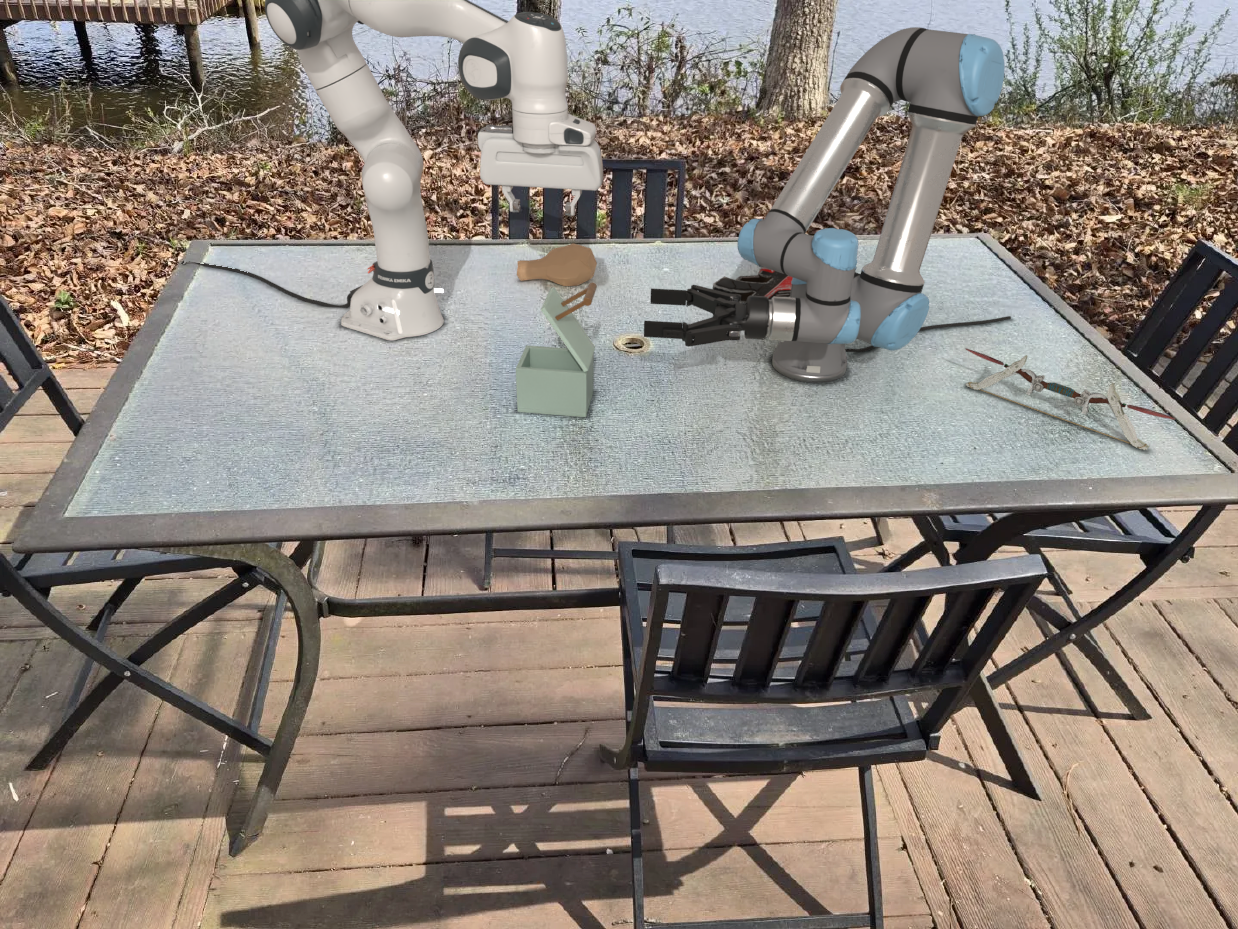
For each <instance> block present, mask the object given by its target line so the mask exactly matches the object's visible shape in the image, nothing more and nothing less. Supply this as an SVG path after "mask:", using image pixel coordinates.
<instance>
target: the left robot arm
mask: <svg viewBox="0 0 1238 929" xmlns="http://www.w3.org/2000/svg"><path fill="white" fill-rule="evenodd" d="M264 12H265V16H266V19H267V22H268V24H269V27H270V28H271V30H272V31H273V33H274V34H275V36H276V37H277V38H278V39H279V40H280V41H281V42H282V43H284V45H286V46H288V47H290V48H291V49H293V50H295V51H296V53H297V56H298V59H299V61H300V63H301V66H302V67H303V70H304V71H305V74H306V76H307V78H308V80H309V81H310V83H311V86H312V87H313V89H314V91H315V92H316V94H317V95H318V98H319V99H320V102H321V103H322V104H323V106H324V108H325V109H326V111H327V113H328V115H329V116H330V118H331V120H332V122H333V124H334V125H335V127H336V129H337V130H338V131H339V132H340V133H341V134H343V135H344V137H346V139H347V140H348V141H349V142H350V144H351V145H352V146H353V147H354V149H355V150H356V151H357V153H358V154H359V156H360V157H361V159H362V161H363V163H364V164H363V166H362V168H361V185H362V190H363V193H364V198H365V204H366V208H367V211H368V215H369V218H370V219H369V220H370V223H371V227H372V231H373V238H374V245H375V246H374V247H375V253H376V254H375V255H376V261H374V262H373V263H372V265H371V266H369V267H368V268H367V274H370V273H372V277H371V278H370V279H369V280H367V282H365V283H364V284H362V285H359V286H358V287H356V288H353V289H351V290H349V293H348V295H347V296H346V303H344V304H341V305H340V304H339V305H338V304H337V305H336V304H331V303H328V302H324V301H321V300H316V299H312V298H307V297H305V296H302V295H299V294H297V293H295V292H292V291H290V290H288V289H286V288H284V287H282V286H280V285H279V284H276V283H274V282H272V281H270V280H268V279H266V278H264V277H263V276H260V275H258V274H255V273H252V272H250V271H247V270H244V271H246V272H244V271H240V270H241V268H236V267H234V268H235V269H232V268H233V267H232V268H228V267H229V266H227V267H222V266H223V265H221V266H216V265H217V264H214V265H209V264H210V263H207V262H203V263H204V264H200V263H194V265H199V266H202V267H205V268H213V269H218V270H225V271H229V272H230V271H231V272H235V273H238V274H241V275H245V276H248V277H250V278H253V279H255V280H258V281H261V282H263V283H265V284H266V285H268V286H271V287H272V288H274V289H276V290H278V291H280V292H282V293H284V294H286V295H288V296H291V297H293V298H295V299H297V300H300V301H303V302H306V303H309V304H313V305H317V306H318V305H319V306H321V307H327V308H338V309H339V308H341V309H347V308H349V310H347V311H346V313H344V314H343V316H342V317H341V320H340V324H341V326H342V327H344V328H347V329H350V330H354V331H357V332H360V333H364V334H367V335H370V336H373V337H377V338H380V339H383V340H387V341H396V340H397V341H398V340H401V339H404V338H412V337H420V336H423V335H427V334H430V333H431V334H432V333H434V332H436V331H437V330H439V329H441V327H442V326H443V325H444V323H445V320H444V317H443V314H442V312H441V310H440V307H439V303H438V300H437V296H436V293H441V294H443V293H444V291H445V290H444V288H435V271H434V264H433V260H432V259H431V253H430V243H429V232H428V223H427V222H426V216H425V211H424V204H423V198H422V192H421V190H422V189H421V182H422V175H423V171H424V165H425V164H424V158H423V155H422V152H421V149H420V148H419V146H418V145H417V143H416V142H415V141H414V139H413V137H412V136H411V135H410V133H409V131H408V130H407V129H406V127H405V126H404V124H403V122H402V121H401V119H400V118H399V117H398V115H397V114H396V112H395V111H394V110H393V108H392V107H391V105H390V104H389V102H388V100H387V98H386V97H385V94H384V93H383V91H382V89H381V87H380V86H379V82H377V80H376V77H375V76H374V74H373V73H372V71H371V68H370V67H369V64H368V63H367V61H366V60H365V58H364V56H363V54H362V52H361V50H360V49H359V47H358V46H357V44H356V42H355V40H354V37H353V29H354V26H356V24H359V25H362V26H363V25H365V26H366V27H368V28H370V29H372V30H374V31H375V32H379V33H380V34H384V35H386V36H390V37H394V38H416V37H441V38H449V39H452V40H456V41H459V42H461V43H463V44H462V46H461V48H460V50H459V53H458V59H457V67H458V75H459V77H460V81H461V82H462V84H463V86H464V88H465V89H466V90H467V92H468V93H470V95H471V96H473V97H475V98H476V99H478V100H483V101H497V100H499V99H507V100H510V103H511V111H512V112H511V113H512V114H511V115H512V125H507V124H506V125H495V124H486V126H484V127H482V128H480V130H479V131H478V133H477V145H478V148H479V151H480V161H479V162H480V163H479V178H480V180H481V182H483V183H484V184H485V185H488V186H489V185H491V186H501V188H502V189H501V190H502V191H501V192H502V194H503V195H504V197H505V198H506V200H507V201H508V203H509V212H510V213H520V212H521V205H520V204H521V199H520V198H519V199H518V198H516V197H515V195H514V194H513V192H512V190H513V189H514V187H523V188H524V187H525V188H526V187H527V188H543V189H558V190H560V189H561V190H571V196H573V199H572V200H571V201H567V202H566V203H565V205H564V209H565V212H564V214H565V215H564V216H570V217H571V216H572V217H573V216H575V215H576V205H577V202H578V200H580V197H581V195H582V194H583V191H593V192H595V191H598V190H599V189H600V187H601V186H602V185H603V182H604V164H603V157H602V150H601V147H600V145H599V143H598V142H597V141H596V140H595V138H596V136H597V135H596V134H597V127H596V125H595V124H594V123H593V122H591V121H588V120H585V119H583V118H580V117H577V116H575V115H573V114H570V113H569V104H568V101H567V96H566V88H567V83H568V80H569V78H568V76H569V75H568V74H569V73H568V71H569V70H568V68H569V67H568V50H567V42H566V36H565V32H564V29H563V26H562V24H561V23H560V22H559V21H558V20H557V19H556V18H554V17H553V16H550V15H547V14H545V13H541V12H533V11H522V12H517V13H515V14H514V15H513V16H512V17H511V18H510V20H507V19H504V18H502V17H501V16H499V15H498V14H495V13H493V12H491V11H489V10H488V9H486V8H483V7H482V6H479V5H478V4H476V3H474V2H472V1H470V0H264ZM183 263H184V260H183V261H181V263H180V265H181V264H183ZM247 272H248V273H247Z"/></svg>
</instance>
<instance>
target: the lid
mask: <svg viewBox="0 0 1238 929" xmlns="http://www.w3.org/2000/svg"><path fill="white" fill-rule="evenodd" d="M597 289H598V285H597V283H595V282H593V281H592V282H589V284H588V286H587V287H586V288H584V289H582V290H580V291H579V292H577V293H575V294H574V295H571V296H569V297H568V298H566V299H565V300H564V299H563V297H562V295H561V294H560V293H559V291H558V290H557V289H556V287H555V286H553V287H550V288H549V290H548V293H547V295H546V297H545V299H544V302H543V304H542V306H541V308H540V311H541V312H542V314H543V315H544V317H545V318H546V320H547V321H548V322H549V324H550V325H551V327H552V328H553V330H554V331H555V332H556V334H557V335H558V337H559V338H560V339H561V341H562V342H563V344H564V345H565V346H566V347H565V348H568V349H569V351H570V352H571V354H572V355H573V357H574V358H575V359H576V361H577V362H578V364H579V365H580V366H581V368H582V369H583V371H584V372H586V371H588V369H589V366H590V363H591V359H592V356H593V353H594V352H595V349H596V345H595V343H593V341H592V340H591V338H590V337H589V335H588V334H587V332H586V331H585V330H584V328H583V327H582V325H581V324H580V322H579V321H578V320H577V318H576V317H575V315H574V312H576V311H577V310H579V309H581V308H583V307H589V306H591V305H592V303H593V300H594V298H595V294H596V292H597ZM583 296H584V297H583ZM581 297H583V299H582V301H580V302H578V303H576V304H575V305H573V306H571V307H570V308H569V306H568V305H569V304H570V303H572V302H574V301H576V300H578V299H579V298H581ZM594 354H595V353H594Z"/></svg>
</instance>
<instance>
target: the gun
mask: <svg viewBox="0 0 1238 929" xmlns="http://www.w3.org/2000/svg"><path fill="white" fill-rule="evenodd" d="M792 279H793V277H790V276H788V275H785V274H783V273H780V272H777V271H774V270H771V269H768V268H765V267H760V269H759V271H758V273H757V274H756V275H753V274H752V275H751V274H750V275H740V276H738V277H737V278H735V279H734V278H731V277H727V276H722V277H720V279H717V281H715V282H713V283H712V289H713V290H717V291H721V292H725V293H729V294H739V295H741V303H743V304H746V303H747V298H748V297H749V296H767V298H769V300H771V299H772V298H773V297H790V293H791V286H792V284H791V281H792Z"/></svg>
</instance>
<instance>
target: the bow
mask: <svg viewBox="0 0 1238 929" xmlns="http://www.w3.org/2000/svg"><path fill="white" fill-rule="evenodd" d="M964 349H965V351H967V352H969V353H970V354H973V355H975V356H977V357H979V358H981V359H983V360H986V361H988V362H990V363H991V362H992V363H993V364H997V365H1000V366H1003V368H1005V369H1003V370H1002V371H998V372H995V373H993V374H990V375H988V376H987V377H985V378H984V379H982V380H981V381H979V382H978V381H968V382H966V383H965V386H967V388H969V389H972V390H977V391H981V392H984V393H987V394H988V395H989V394H990V395H993V396H994V397H995V396H996V397H998V398H1001V399H1003V400H1007V401H1009V402H1012V403H1015V404H1018V405H1020V406H1022V407H1023V406H1024V407H1026V408H1029V409H1032V410H1034V411H1038V412H1040V413H1043V414H1044V415H1048V416H1051V417H1054V418H1056V419H1060V420H1062V421H1065V422H1067V423H1071V424H1074V425H1075V426H1076V425H1077V426H1079V427H1082V428H1085V429H1088V430H1090V431H1093V432H1095V433H1099V434H1102V435H1105V436H1107V437H1110V438H1112V439H1114V440H1117V441H1121V442H1124V443H1127V444H1129V445H1131V446H1132V447H1135V448H1136V449H1140V450H1143V451H1148V449H1149V448H1150V445H1148V443H1146V442H1144V441H1143V440H1141V439H1140V438H1139V437H1138V436H1137V432H1136V429H1135V427H1134V425H1133V423H1132V422H1131V420H1130V418H1129V416H1128V415H1127V414H1126V413H1125V411H1124V408H1126V407H1127V408H1128V409H1131V410H1133V411H1136V412H1140V413H1142V414H1146V415H1150V416H1154V417H1157V418H1163V419H1169V420H1177V418H1176V417H1174V416H1171V415H1168V414H1165V413H1161V412H1158V411H1156V410H1152V409H1149V408H1146V407H1142V406H1138V405H1134V404H1127V403H1125V402H1124V403H1122V401H1121V396H1120V395H1119V394H1118V392H1117V391H1116V386H1115V383H1114V382H1112V383H1111V384H1110V385H1109V387H1108V389H1107V393H1106V395H1104V394H1103V393H1101V392H1092V393H1091V391H1088V389H1084V390H1083V391H1082V392H1081V393H1079V392H1077V391H1076V390H1075V389H1074V388H1072V387H1070V386H1066V385H1063V384H1060V383H1058V382H1055V381H1053V382H1052V381H1044V380H1045V377H1046V376H1045V375H1044V374H1042V375H1040V374H1039V375H1037V374H1036V372H1035V371H1033V370H1031V369H1029V368H1023V367H1024V366H1025V365H1026V362H1027V360H1028V356H1029V355H1028V354H1025V355H1024V356H1023V357H1022V358H1020V359H1019V360H1017V361H1014V362H1012V363H1011V364H1010V365H1009V364H1007V363H1004V362H1003V361H1001V360H1000V359H996V358H995V357H992V356H990V355H988V354H984V353H982V352H979V351H976V350H972V349H970V348H966V347H965V348H964ZM1016 375H1019V376H1021V378H1023V379H1024V380H1025V381H1026V382H1028V383H1030V385H1029V388H1027V391H1026V392H1025V394H1026V395H1028V396H1031V395H1032V394H1033V392H1034V391H1035V392H1036V393H1041V392H1042V391H1043V390H1044V389H1045V390H1047V391H1050V392H1053V393H1056V394H1058V395H1062V396H1065V397H1068V398H1071V399H1073V403H1074V405H1076V406H1077V407H1082V408H1081V415H1085V416H1086V415H1087V414H1088V413H1089V409H1090V406H1089V405H1090V404H1100V405H1101V404H1106V405H1107V406H1108V407H1109V409H1110V410H1111V412H1112V413H1113V415H1114V417H1115V418H1116V420H1117V422H1118V425H1119V427H1120V429H1121V431H1122V434H1123V435H1124V436H1125V438H1126V439H1127V440H1123V439H1121V438H1119V437H1115V436H1112V435H1110V434H1106V433H1105V432H1101V431H1099V430H1096V429H1093V428H1090V427H1089V426H1088V427H1087V426H1085V425H1083V424H1082V425H1081V424H1080V423H1076V422H1074V421H1070V420H1068V419H1065V418H1062V417H1060V416H1057V415H1053V414H1051V413H1048V412H1045V411H1042V410H1040V409H1037V408H1034V407H1031V406H1028V405H1027V404H1023V403H1020V402H1017V401H1015V400H1011V399H1010V398H1006V397H1004V396H1001V395H998V394H995V393H992V392H990V391H987V390H983V389H985V388H988V387H993V386H994V385H996V384H997V383H998V382H1001V381H1003V380H1005V379H1007V378H1010V377H1013V376H1016Z"/></svg>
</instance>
